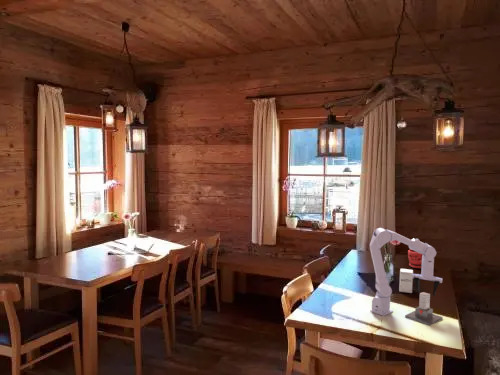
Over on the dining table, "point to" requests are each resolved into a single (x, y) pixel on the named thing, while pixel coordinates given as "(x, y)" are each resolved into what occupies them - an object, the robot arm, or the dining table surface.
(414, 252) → the plant pot
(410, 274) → the supplement box
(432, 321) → the stand base
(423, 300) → the column
